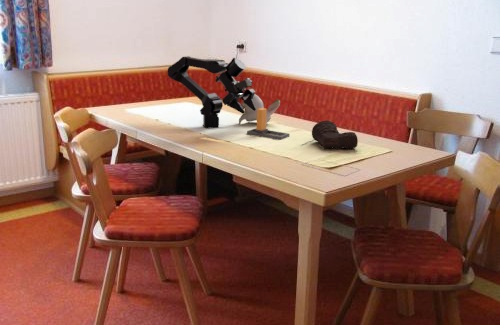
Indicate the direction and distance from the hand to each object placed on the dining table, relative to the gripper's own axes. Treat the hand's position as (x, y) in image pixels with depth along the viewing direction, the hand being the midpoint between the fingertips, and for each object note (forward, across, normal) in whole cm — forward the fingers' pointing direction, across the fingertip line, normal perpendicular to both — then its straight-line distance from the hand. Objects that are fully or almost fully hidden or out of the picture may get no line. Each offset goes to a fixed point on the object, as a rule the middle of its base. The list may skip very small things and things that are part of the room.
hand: (249, 111), depth 213 cm
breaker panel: (+14, 0, 0) cm, 14 cm away
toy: (+3, +18, +12) cm, 22 cm away
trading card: (+42, -25, -29) cm, 57 cm away
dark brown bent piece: (+35, +4, -21) cm, 41 cm away
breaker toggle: (+11, 0, +2) cm, 11 cm away
